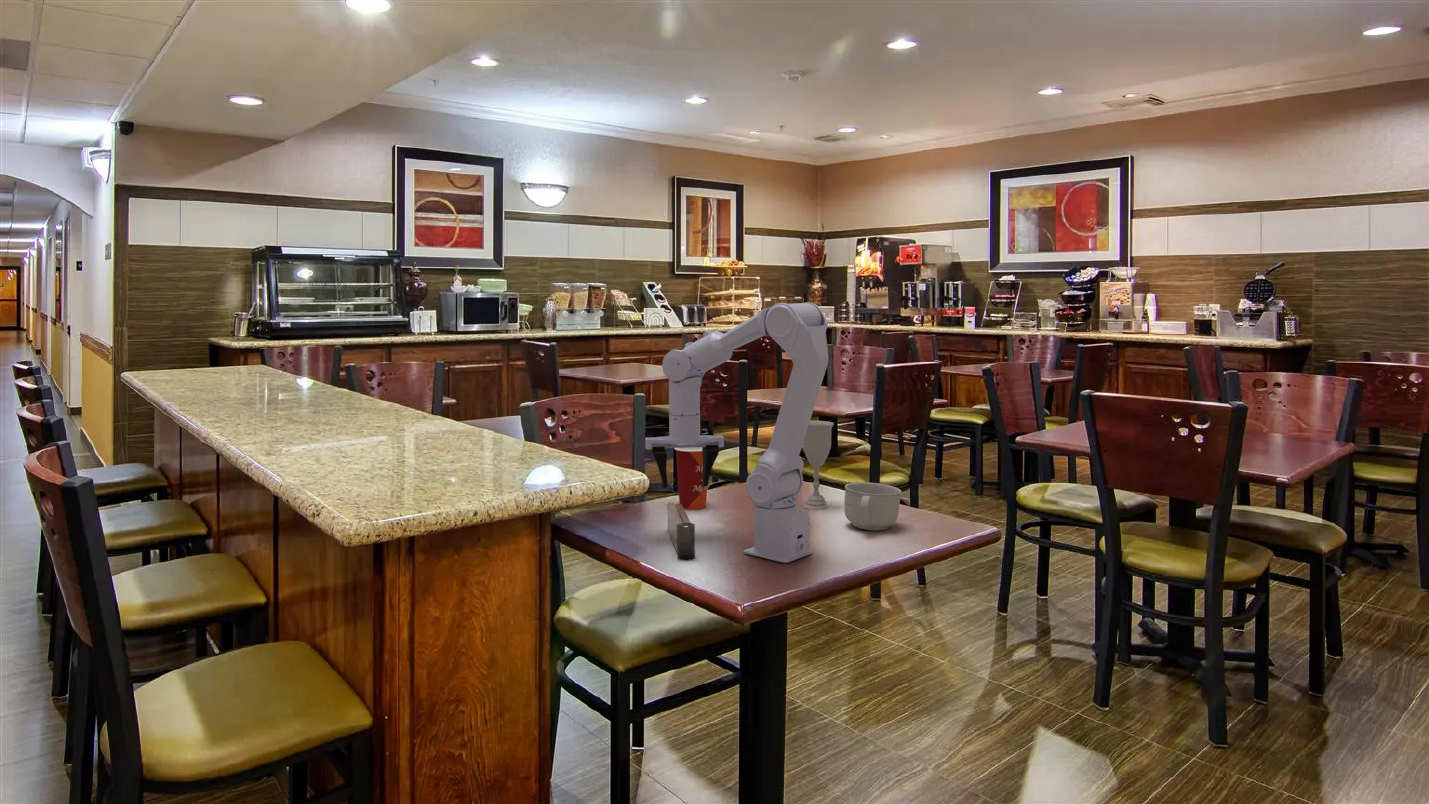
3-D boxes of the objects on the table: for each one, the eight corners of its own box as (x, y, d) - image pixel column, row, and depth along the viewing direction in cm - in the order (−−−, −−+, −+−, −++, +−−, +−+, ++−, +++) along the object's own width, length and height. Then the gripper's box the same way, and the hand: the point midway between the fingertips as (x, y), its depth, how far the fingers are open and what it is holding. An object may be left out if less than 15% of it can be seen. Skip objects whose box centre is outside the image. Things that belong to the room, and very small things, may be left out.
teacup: (856, 517, 185) (857, 478, 184) (908, 524, 179) (909, 484, 178) (828, 533, 173) (829, 492, 172) (882, 541, 167) (883, 498, 166)
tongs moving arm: (683, 552, 159) (683, 524, 159) (676, 552, 159) (676, 524, 159) (673, 527, 176) (673, 502, 175) (667, 527, 176) (667, 502, 175)
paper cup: (706, 511, 189) (706, 445, 188) (670, 510, 191) (670, 444, 189) (714, 503, 197) (714, 439, 195) (679, 501, 198) (679, 438, 197)
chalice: (792, 506, 194) (793, 422, 192) (813, 501, 199) (814, 419, 196) (818, 512, 189) (819, 426, 186) (839, 507, 193) (840, 423, 191)
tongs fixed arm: (696, 559, 156) (695, 526, 155) (678, 560, 156) (678, 527, 155) (681, 528, 176) (681, 499, 175) (666, 529, 176) (666, 500, 175)
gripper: (719, 410, 174) (719, 479, 175) (643, 412, 171) (644, 482, 173) (726, 415, 167) (725, 487, 169) (647, 417, 164) (648, 490, 166)
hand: (684, 485), depth 170 cm, fingers open, 7 cm apart
